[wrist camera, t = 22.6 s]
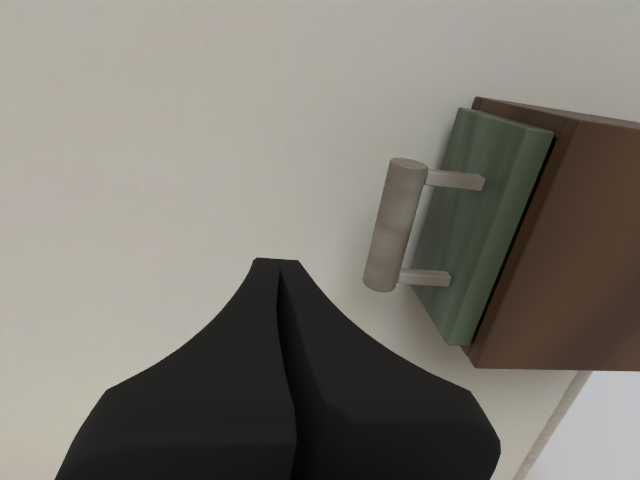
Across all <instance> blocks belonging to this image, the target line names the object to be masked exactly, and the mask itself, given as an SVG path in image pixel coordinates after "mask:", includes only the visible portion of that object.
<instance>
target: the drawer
mask: <svg viewBox="0 0 640 480" xmlns="http://www.w3.org/2000/svg"><path fill="white" fill-rule="evenodd" d="M554 134H555V133H554V132H553V131H550V130H546V129H543V128H539V127H536V126H532V125H529V124H525V123H522V122H518V121H515V120H511V119H507V118H504V117H500V116H497V115H493V114H490V113H486V112H483V111H479V110H473V109H466V108H459V109H458V112H457V115H456V119H455V122H454V126H453V129H452V132H451V136H450V139H449V143H448V146H447V150H446V153H445V157H444V160H443V163H442V167H441V170H437V169H428V167H427V166H426V165H425V164H423V163H421V162H418V161H414V160H410V159H404V158H393V159H391V160H390V163H389V167H388V172H387V176H386V180H385V185H384V189H383V193H382V198H381V202H380V206H379V211H378V215H377V219H376V224H375V228H374V232H373V237H372V241H371V246H370V250H369V254H368V259H367V263H366V267H365V272H364V276H363V282H364V284H365V285H366V286H367V287H368V288H370V289H372V290H374V291H378V292H390V291H392V290H394V289H395V286H396V283H397V284H407V285H411V287H412V288H413V290H414V292H415V293H416V295H417V296H418V298H419V300H420V301H421V303H422V304H423V306H424V308H425V309H426V311H427V313H428V314H429V316H430V317H431V319H432V321H433V322H434V324H435V325H436V327H437V329H438V330H439V332H440V333H441V335H442V337H443V338H444V340H445V342H446V343H447V344H448V345H464V346H468V345H470V342H471V340H472V337H473V335H474V332H475V330H476V328H477V325H478V323H479V320H480V318H481V315H482V316H483V317H484V316H485V314H486V312H487V309H488V307H489V304H490V302H491V299H492V297H493V294H494V292H495V289H496V287H497V285H498V282H499V280H500V277H501V275H502V272H503V271H502V270H501V269H500V268H501V266H502V263H503V261H504V258H505V256H506V253H507V251H508V248H509V246H510V243H511V241H512V238H513V236H514V233H515V231H516V228H517V226H518V223H519V221H520V219H521V216H522V214H523V211H524V209H525V206H526V204H527V201H528V199H529V196H530V194H531V191H532V189H533V186H534V184H535V181H536V179H537V176H538V174H539V171H540V169H541V166H542V164H543V163H544V164H546V165H547V162H548V160H549V157H550V155H551V152H552V150H553V147H554V145H555V143H556V140H557V138H555V137H554ZM424 184H425V185H430V186H436V188H435V191H434V194H433V198H432V201H431V205H430V208H429V212H428V215H427V219H426V222H425V225H424V229H423V232H422V236H421V239H420V243H419V246H418V250H417V253H416V256H415V260H414V263H413V267H412V269H403V268H401V264H402V261H403V257H404V254H405V250H406V246H407V243H408V239H409V235H410V232H411V228H412V224H413V221H414V217H415V214H416V210H417V206H418V203H419V199H420V195H421V192H422V188H423V185H424Z"/></svg>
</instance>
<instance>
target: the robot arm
mask: <svg viewBox="0 0 640 480" xmlns="http://www.w3.org/2000/svg"><path fill="white" fill-rule="evenodd" d="M500 454H501V448H500V440H499V438H498V436H497V434H496V432H495V430H494V428H493V427H492V425H491V423H490V422H489V420H488V418H487V417H486V415H485V413H484V411H483V410H482V408H481V407H480V405H479V404H478V402H477V401H476V399H475V397H474V396H473V395H472V393H471V392H470V391H469V390H466V389H464V388H462V387H460V386H458V385H455V384H453V383H451V382H449V381H447V380H444V379H442V378H440V377H438V376H436V375H433V374H431V373H429V372H427V371H425V370H424V369H422V368H420V367H418V366H416V365H414V364H413V363H411V362H409V361H407V360H405V359H404V358H402V357H400V356H399V355H397V354H395V353H394V352H392V351H391V350H389V349H388V348H386V347H385V346H383V345H382V344H380V343H379V342H377V341H376V340H375V339H373V338H372V337H370V336H369V335H368V334H366V333H365V332H364V331H363V330H361V329H360V328H359V327H358V326H357V325H355V324H354V323H353V322H352V321H351V320H349V319H348V318H347V317H346V316H345V315H344V314H343V313H342V312H341V311H340V310H339V309H338V308H337V307H336V306H335V305H334V304H333V303H332V302H331V301H330V300H329V299H328V298H327V296H326V295H325V294H324V293H323V292H322V291H321V289H320V288H319V287H318V286H317V285H316V283H315V282H314V281H313V279H312V278H311V277H310V275H309V274H308V273H307V271H306V270H305V269H304V267H303V266H302V265H301V263H300V262H299V261H298V260H285V259H270V258H256V259H255V260H253V263H252V266H251V268H250V271H249V273H248V274H247V276H246V278H245V280H244V281H243V283H242V284H241V286H240V287H239V289H238V290H237V292H236V293H235V294H234V296H233V297H232V298H231V299H230V301H229V302H228V303H227V304H226V305H225V307H224V308H223V309H222V310H221V311H220V312H219V313H218V315H217V316H216V317H215V318H214V319H213V320H212V321H211V322H210V323H209V324H208V325H207V326H206V327H204V328H203V329H202V330H201V331H200V332H199V333H198V334H196V335H195V336H194V337H193V338H192V339H190V340H189V341H188V342H187V343H185V344H184V345H183V346H182V347H180V348H179V349H177V350H176V351H175V352H173V353H172V354H170V355H169V356H167V357H166V358H164V359H163V360H161V361H160V362H158V363H156V364H155V365H153V366H151V367H150V368H148V369H146V370H144V371H142V372H140V373H139V374H137V375H135V376H133V377H131V378H129V379H127V380H125V381H123V382H121V383H119V384H118V385H116V386H113V387H111V388H109V389H107V390H106V391H105V393H104V394H103V395H102V397H101V398H100V399H99V401H98V402H97V404H96V405H95V407H94V408H93V410H92V411H91V412H90V414H89V416H88V417H87V419H86V420H85V422H84V423H83V425H82V426H81V428H80V429H79V431H78V433H77V435H76V436H75V438H74V440H73V442H72V444H71V446H70V448H69V450H68V452H67V454H66V457H65V459H64V461H63V463H62V465H61V467H60V469H59V471H58V474H57V476H56V478H55V480H490V478H491V476H492V474H493V472H494V471H495V468H496V465H497V463H498V460H499V457H500Z"/></svg>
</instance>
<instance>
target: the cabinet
mask: <svg viewBox="0 0 640 480" xmlns="http://www.w3.org/2000/svg"><path fill="white" fill-rule="evenodd" d="M472 109H473V110H479V111H483V112H486V113H490V114H493V115H497V116H500V117H504V118H507V119H511V120H515V121H518V122H522V123H525V124H529V125H532V126H536V127H539V128H543V129H546V130H550V131H553V132H554V133H555V134H554V137H555V138H557V140H556V143H555V145H554V147H553V150H552V152H551V155H550V157H549V160H548V162H547V165H546V167H545V170H544V172H543V174H542V177H541V179H540V182H539V184H538V187H537V189H536V192H535V194H534V196H533V199H532V201H531V204H530V206H529V209H528V211H527V214H526V216H525V218H524V221H523V223H522V226H521V228H520V231H519V233H518V236H517V238H516V241H515V243H514V245H513V248H512V250H511V253H510V255H509V258H508V260H507V263H506V265H505V267H504V270H503V272H502V275H501V277H500V280H499V282H498V285H497V287H496V289H495V292H494V294H493V297H492V299H491V302H490V304H489V307H488V309H487V312H486V314H485V316H484V317H483V316H482V315H481V318H480V320H479V323H478V325H477V328H476V330H475V332H474V335H473V337H472V340H471V342H470V345H468V346H464V345H460V346H461V348H462V349H463V351H464V352H465V354H466V355H467V356H468V358H469V360H470V361H471V363H472V364H473V366H474V367H475V368H487V369H540V370H593V371H597V370H598V371H599V370H600V371H640V123H638V122H632V121H626V120H620V119H613V118H607V117H601V116H595V115H588V114H582V113H576V112H570V111H563V110H557V109H551V108H545V107H539V106H532V105H526V104H520V103H514V102H507V101H501V100H495V99H489V98H483V97H475V99H474V103H473V106H472Z"/></svg>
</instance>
